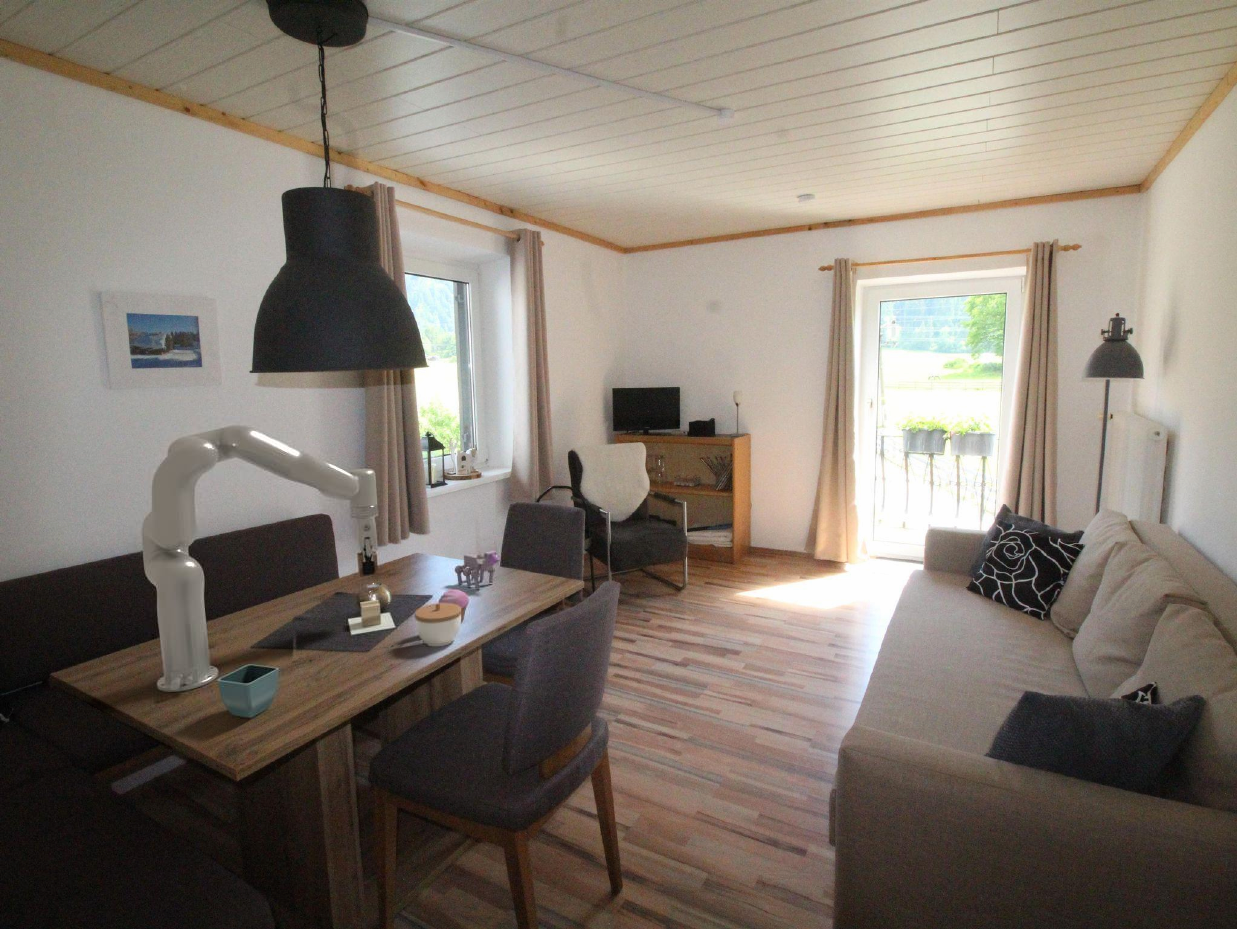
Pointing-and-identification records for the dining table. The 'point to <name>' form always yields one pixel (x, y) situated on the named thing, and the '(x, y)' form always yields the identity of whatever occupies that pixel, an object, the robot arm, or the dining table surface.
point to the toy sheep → (477, 567)
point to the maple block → (370, 613)
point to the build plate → (358, 628)
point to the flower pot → (249, 689)
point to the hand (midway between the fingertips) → (368, 571)
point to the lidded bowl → (438, 623)
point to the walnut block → (360, 567)
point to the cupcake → (456, 600)
